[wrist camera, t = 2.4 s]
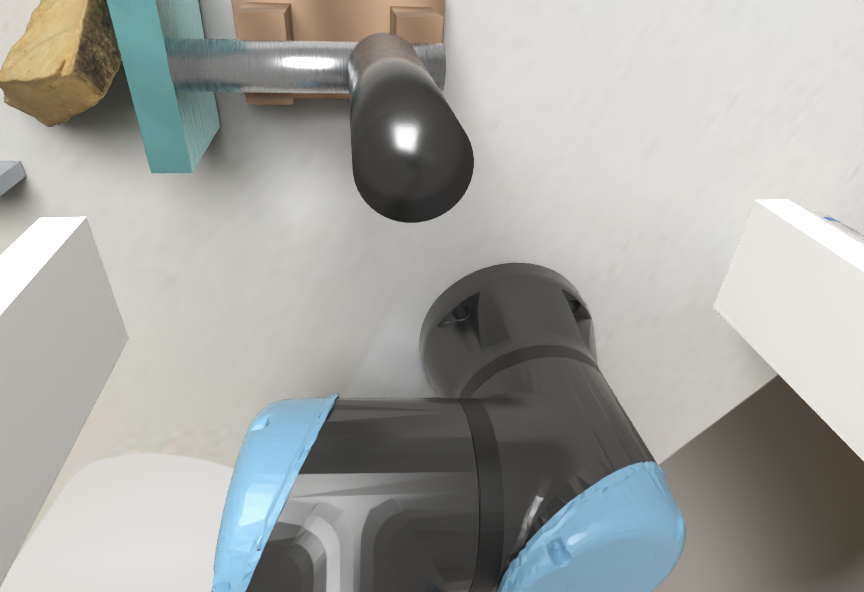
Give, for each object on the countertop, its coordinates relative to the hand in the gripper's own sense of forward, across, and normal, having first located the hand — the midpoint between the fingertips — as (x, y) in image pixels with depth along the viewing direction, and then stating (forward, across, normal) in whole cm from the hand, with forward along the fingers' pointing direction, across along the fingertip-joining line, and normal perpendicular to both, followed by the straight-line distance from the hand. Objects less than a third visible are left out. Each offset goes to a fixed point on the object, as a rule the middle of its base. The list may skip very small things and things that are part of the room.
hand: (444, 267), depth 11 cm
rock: (+28, +18, 0) cm, 33 cm away
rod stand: (+28, +2, 0) cm, 28 cm away
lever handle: (+27, +5, 0) cm, 27 cm away
